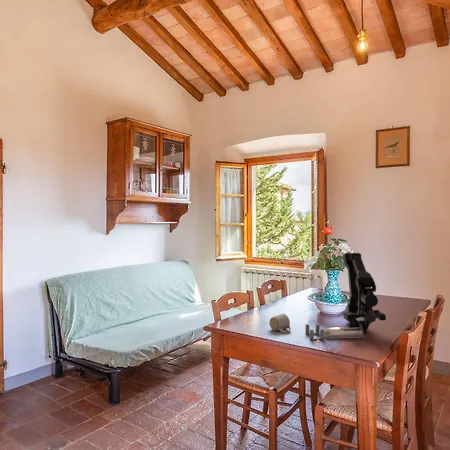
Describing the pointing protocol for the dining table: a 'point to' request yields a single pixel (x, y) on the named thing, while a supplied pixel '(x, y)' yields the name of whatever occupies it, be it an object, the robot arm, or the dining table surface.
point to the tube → (343, 332)
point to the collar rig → (314, 333)
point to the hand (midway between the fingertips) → (364, 333)
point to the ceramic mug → (280, 323)
